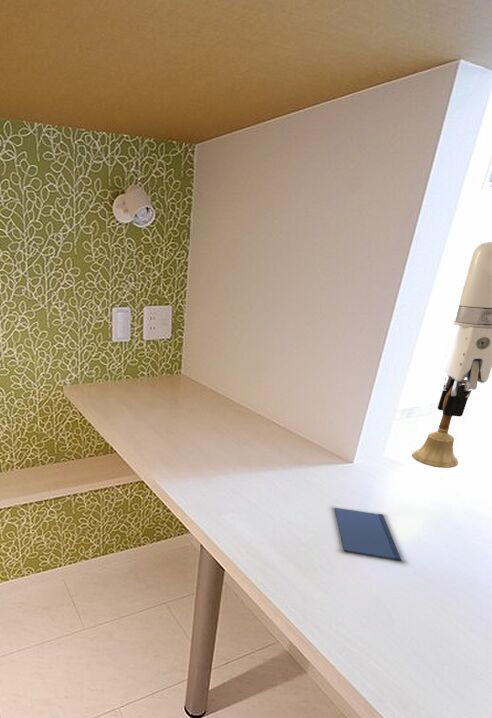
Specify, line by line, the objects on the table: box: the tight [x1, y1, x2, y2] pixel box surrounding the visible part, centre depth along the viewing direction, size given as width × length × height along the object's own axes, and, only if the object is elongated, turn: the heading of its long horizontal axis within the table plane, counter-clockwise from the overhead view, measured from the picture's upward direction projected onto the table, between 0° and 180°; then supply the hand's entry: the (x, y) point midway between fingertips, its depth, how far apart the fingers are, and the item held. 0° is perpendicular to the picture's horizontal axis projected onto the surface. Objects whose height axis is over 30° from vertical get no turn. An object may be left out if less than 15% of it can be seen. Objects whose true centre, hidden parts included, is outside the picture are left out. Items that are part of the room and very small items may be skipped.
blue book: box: [334, 507, 402, 562], centre depth 90 cm, size 10×16×1 cm, turn 164°
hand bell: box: [411, 385, 460, 469], centre depth 88 cm, size 8×8×16 cm
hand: (449, 412), depth 87 cm, fingers closed on hand bell, 2 cm apart
